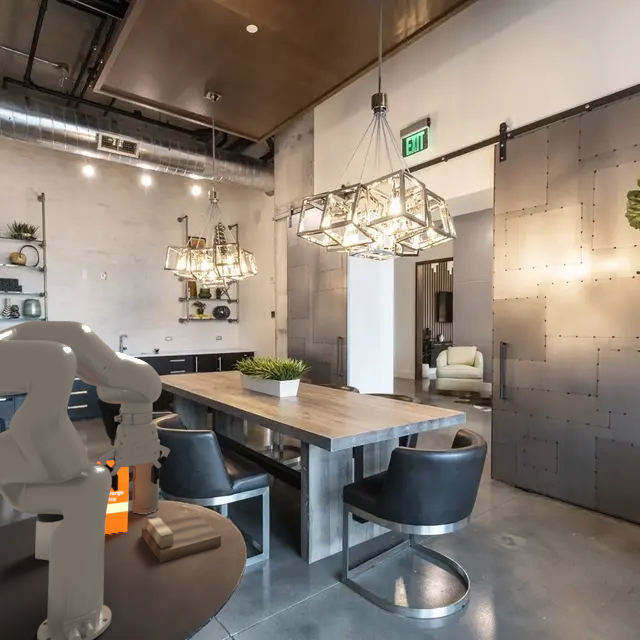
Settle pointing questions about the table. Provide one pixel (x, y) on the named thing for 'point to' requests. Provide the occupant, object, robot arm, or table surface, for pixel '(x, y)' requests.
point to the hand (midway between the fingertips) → (134, 486)
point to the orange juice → (118, 503)
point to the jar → (45, 533)
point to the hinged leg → (159, 531)
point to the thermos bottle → (144, 488)
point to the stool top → (184, 538)
